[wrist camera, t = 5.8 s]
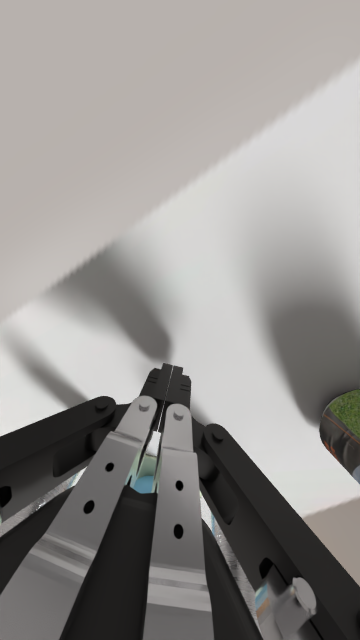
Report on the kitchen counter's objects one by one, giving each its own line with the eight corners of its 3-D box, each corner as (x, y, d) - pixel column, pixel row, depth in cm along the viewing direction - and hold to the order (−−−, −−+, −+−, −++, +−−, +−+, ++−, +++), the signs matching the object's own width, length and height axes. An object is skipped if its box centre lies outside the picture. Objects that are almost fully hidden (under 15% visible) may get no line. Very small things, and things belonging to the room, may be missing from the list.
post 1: (82, 405, 16) (-47, 559, 8) (108, 412, 16) (7, 575, 8) (81, 426, 17) (-37, 586, 8) (106, 432, 17) (12, 600, 8)
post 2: (211, 438, 16) (228, 639, 7) (238, 445, 16) (289, 657, 7) (204, 457, 17) (212, 659, 8) (230, 464, 16) (266, 675, 8)
